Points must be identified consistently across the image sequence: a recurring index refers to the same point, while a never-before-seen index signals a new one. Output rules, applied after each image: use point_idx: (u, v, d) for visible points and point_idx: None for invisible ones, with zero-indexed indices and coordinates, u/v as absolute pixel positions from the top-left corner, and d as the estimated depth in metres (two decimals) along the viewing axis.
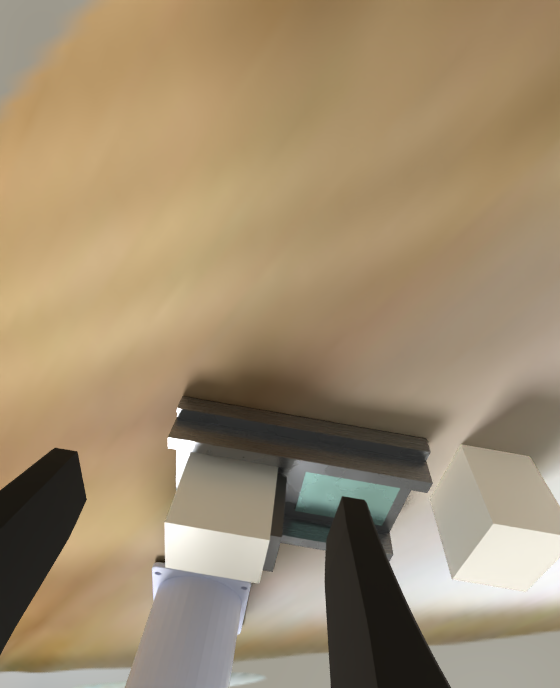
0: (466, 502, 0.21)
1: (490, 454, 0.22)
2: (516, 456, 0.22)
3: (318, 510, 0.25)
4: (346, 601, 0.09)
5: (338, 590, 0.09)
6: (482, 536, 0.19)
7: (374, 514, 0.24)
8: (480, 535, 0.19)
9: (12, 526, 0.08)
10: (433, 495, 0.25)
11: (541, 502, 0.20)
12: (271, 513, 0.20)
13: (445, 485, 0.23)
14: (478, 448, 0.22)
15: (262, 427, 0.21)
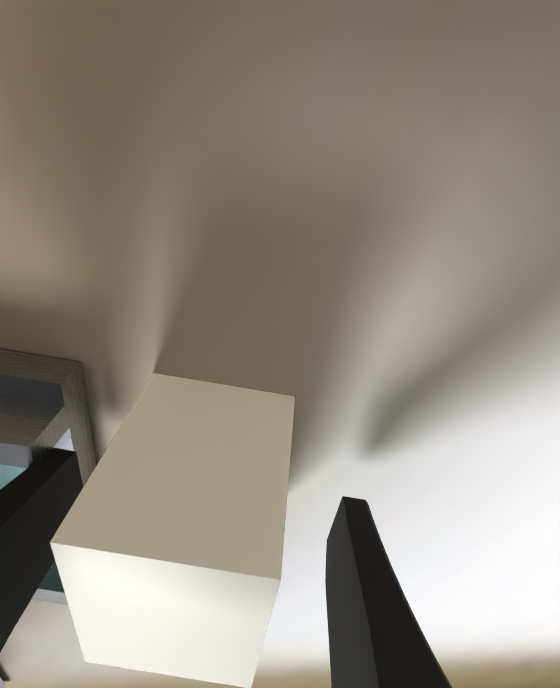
0: None
1: (204, 391, 0.11)
2: (263, 396, 0.11)
3: None
4: (347, 601, 0.09)
5: (339, 590, 0.09)
6: (62, 574, 0.07)
7: None
8: (66, 571, 0.07)
9: (11, 526, 0.08)
10: None
11: (244, 488, 0.08)
12: None
13: None
14: (187, 381, 0.11)
15: None
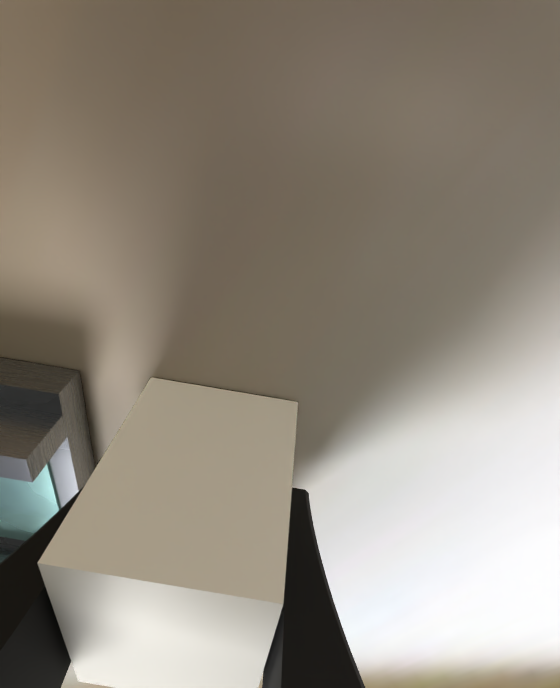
0: None
1: (204, 398, 0.10)
2: (264, 403, 0.10)
3: None
4: None
5: None
6: (52, 594, 0.07)
7: None
8: (55, 590, 0.07)
9: None
10: None
11: (245, 502, 0.08)
12: None
13: None
14: (185, 387, 0.10)
15: None
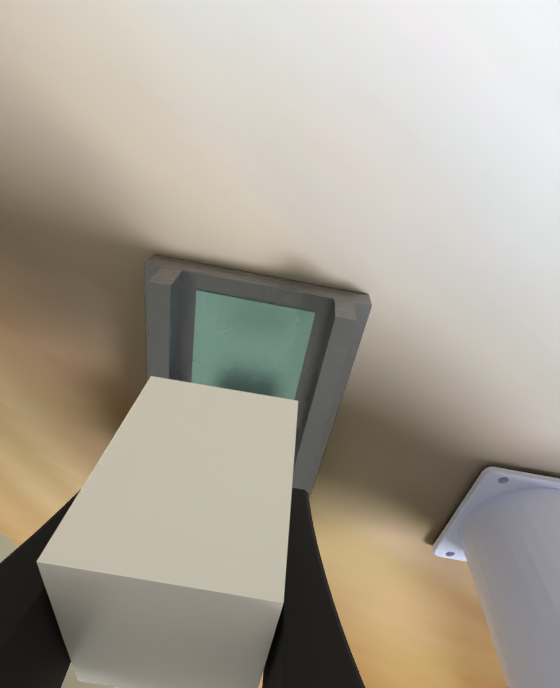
0: None
1: (204, 397, 0.10)
2: (265, 401, 0.10)
3: (287, 391, 0.18)
4: None
5: None
6: (51, 593, 0.07)
7: (287, 324, 0.16)
8: (54, 589, 0.07)
9: None
10: None
11: (245, 501, 0.08)
12: None
13: None
14: (185, 385, 0.10)
15: None
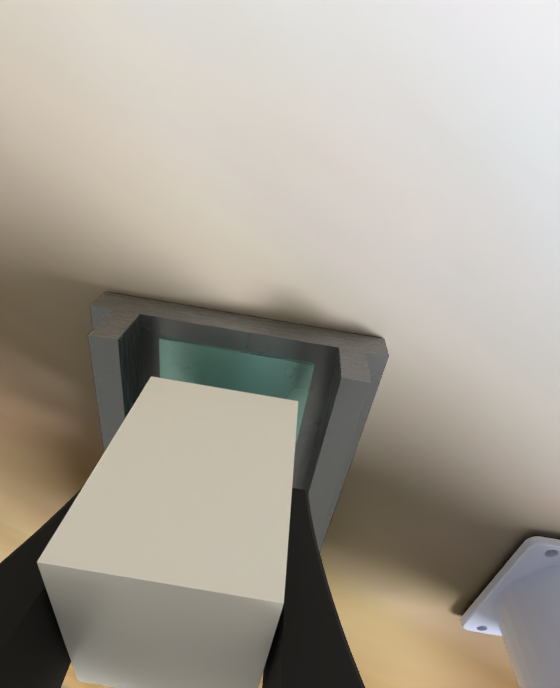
0: None
1: (204, 397, 0.10)
2: (265, 402, 0.10)
3: None
4: None
5: None
6: (51, 594, 0.07)
7: (278, 379, 0.12)
8: (54, 589, 0.07)
9: None
10: None
11: (245, 502, 0.08)
12: None
13: None
14: (185, 386, 0.10)
15: None
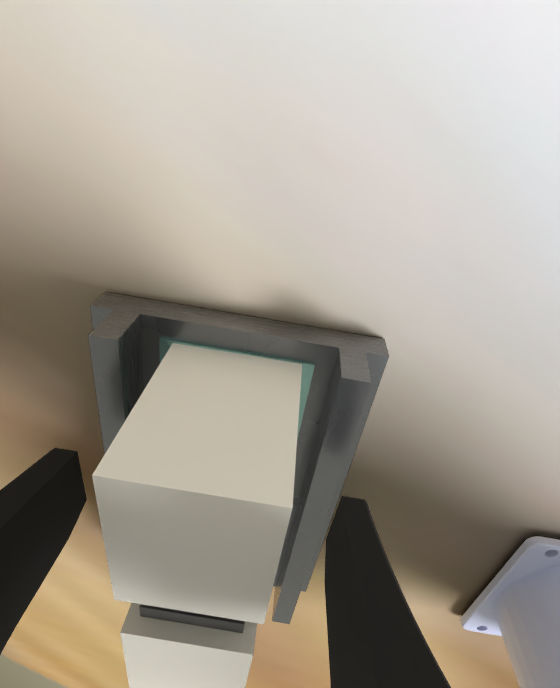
0: None
1: (219, 360, 0.12)
2: (273, 364, 0.12)
3: None
4: (346, 601, 0.09)
5: (338, 590, 0.09)
6: (100, 508, 0.08)
7: None
8: (102, 506, 0.09)
9: (12, 526, 0.08)
10: None
11: (259, 438, 0.09)
12: None
13: None
14: (203, 351, 0.12)
15: None
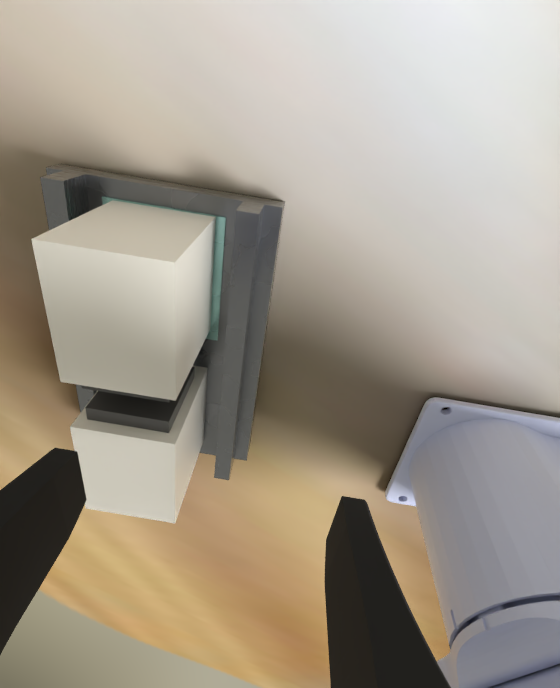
0: None
1: (148, 209, 0.15)
2: (191, 215, 0.15)
3: None
4: (346, 601, 0.09)
5: (338, 590, 0.09)
6: (40, 277, 0.11)
7: None
8: (43, 278, 0.12)
9: (12, 526, 0.08)
10: None
11: (163, 239, 0.12)
12: (89, 403, 0.16)
13: None
14: (136, 205, 0.15)
15: None
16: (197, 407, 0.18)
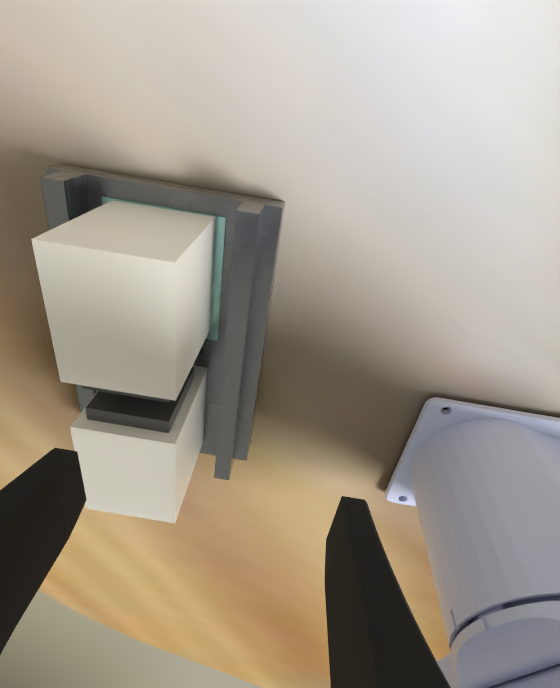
0: None
1: (148, 209, 0.15)
2: (191, 215, 0.15)
3: None
4: (346, 601, 0.09)
5: (338, 590, 0.09)
6: (40, 277, 0.11)
7: None
8: (43, 278, 0.12)
9: (12, 526, 0.08)
10: None
11: (163, 239, 0.12)
12: (89, 403, 0.16)
13: None
14: (136, 205, 0.15)
15: None
16: (197, 407, 0.18)
